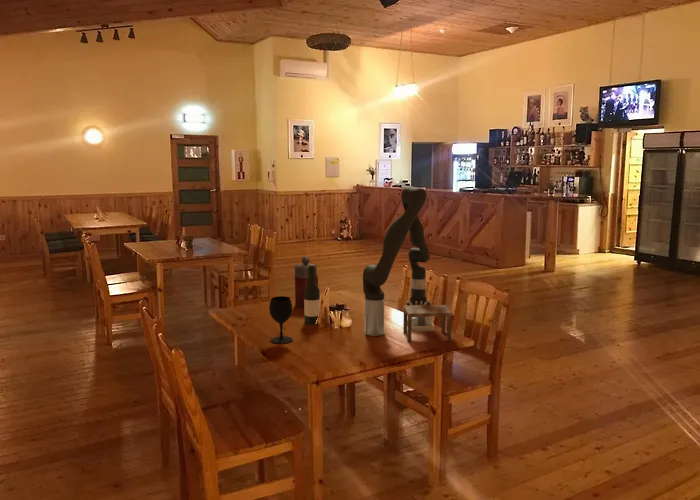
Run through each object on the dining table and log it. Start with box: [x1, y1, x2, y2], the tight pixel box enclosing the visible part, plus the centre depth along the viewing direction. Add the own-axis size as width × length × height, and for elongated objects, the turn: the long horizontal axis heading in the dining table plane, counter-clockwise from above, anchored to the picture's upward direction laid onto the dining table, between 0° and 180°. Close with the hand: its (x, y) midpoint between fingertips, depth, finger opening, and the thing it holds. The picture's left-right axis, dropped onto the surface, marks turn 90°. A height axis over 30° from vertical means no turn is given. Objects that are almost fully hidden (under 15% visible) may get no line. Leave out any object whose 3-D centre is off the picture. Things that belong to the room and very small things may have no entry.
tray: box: [407, 316, 435, 332], centre depth 287 cm, size 12×10×7 cm
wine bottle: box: [303, 263, 321, 325], centre depth 295 cm, size 8×8×30 cm
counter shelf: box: [402, 304, 453, 343], centre depth 273 cm, size 20×14×14 cm
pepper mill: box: [294, 256, 319, 308], centre depth 329 cm, size 9×11×28 cm
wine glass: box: [269, 295, 294, 345], centre depth 267 cm, size 10×10×20 cm
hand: (417, 319), depth 297 cm, fingers closed
